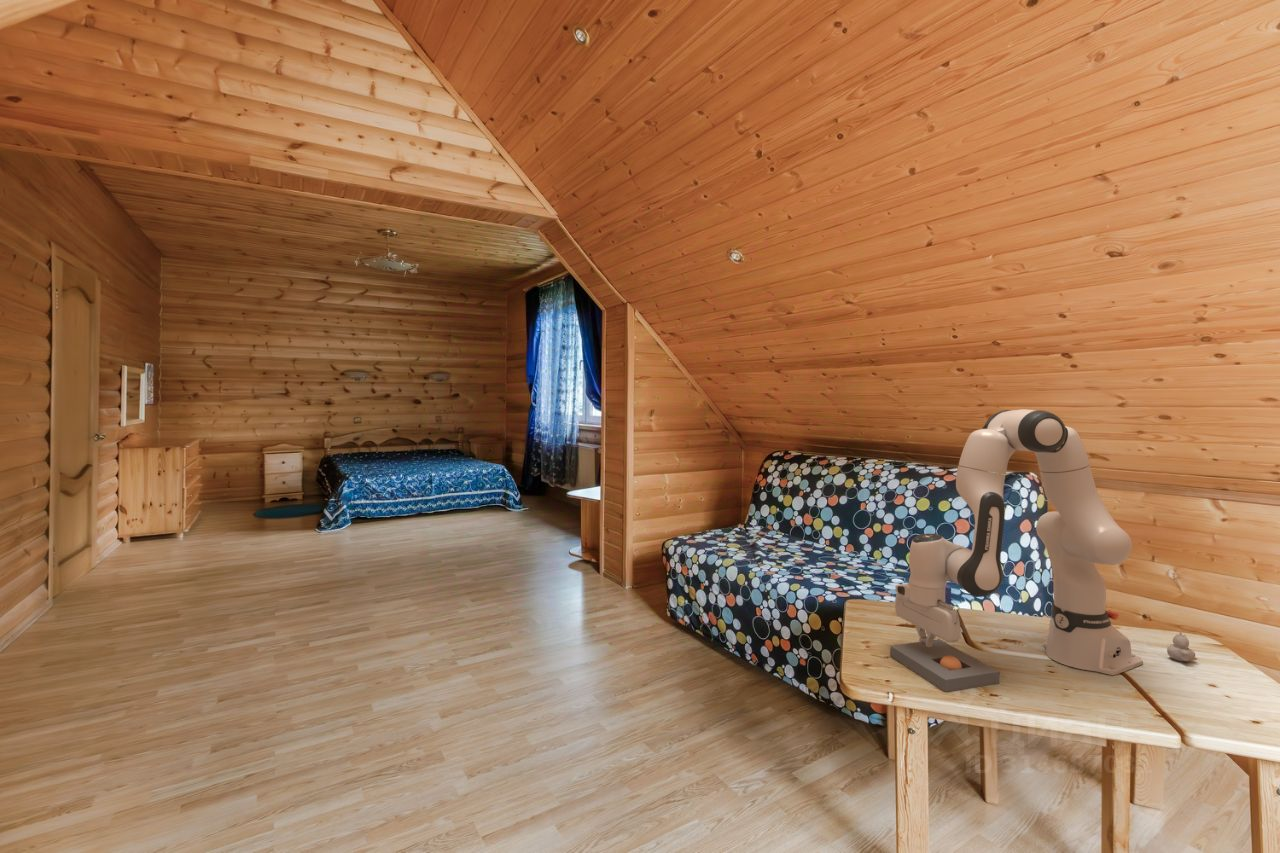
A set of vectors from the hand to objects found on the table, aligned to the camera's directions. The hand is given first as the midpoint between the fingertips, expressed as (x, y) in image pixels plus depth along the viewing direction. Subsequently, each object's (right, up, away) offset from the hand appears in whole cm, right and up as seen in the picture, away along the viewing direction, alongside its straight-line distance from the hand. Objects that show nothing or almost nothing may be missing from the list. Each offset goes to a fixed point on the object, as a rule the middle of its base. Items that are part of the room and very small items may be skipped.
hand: (925, 644), depth 155 cm
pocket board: (+2, -5, -5) cm, 7 cm away
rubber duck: (+67, -4, -2) cm, 67 cm away
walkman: (+16, -3, +26) cm, 31 cm away
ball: (+2, -2, -9) cm, 9 cm away
